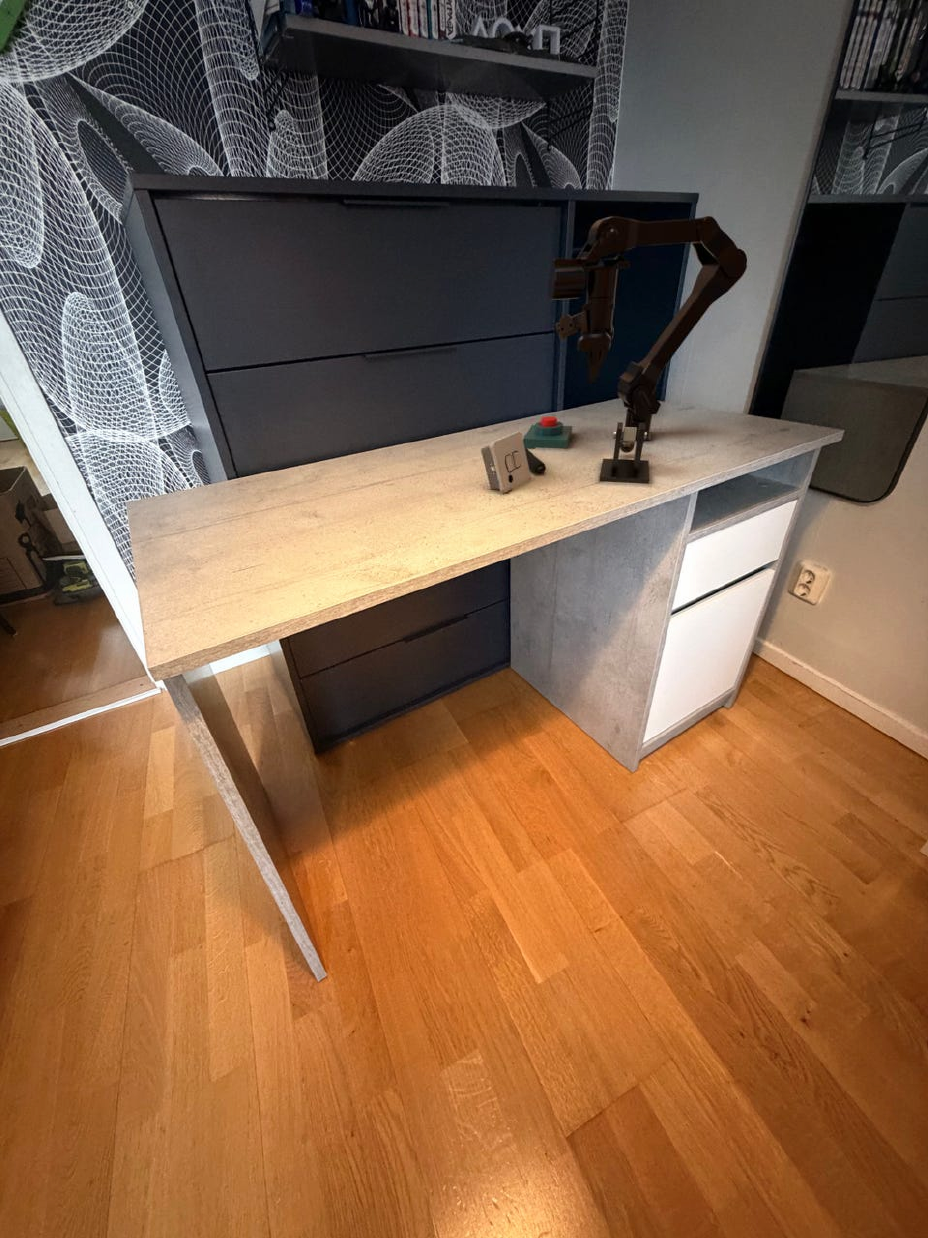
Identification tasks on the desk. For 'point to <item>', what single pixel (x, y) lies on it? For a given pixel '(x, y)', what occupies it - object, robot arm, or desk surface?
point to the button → (548, 421)
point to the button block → (547, 436)
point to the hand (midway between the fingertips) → (592, 381)
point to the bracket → (626, 462)
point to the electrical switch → (506, 462)
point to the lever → (628, 439)
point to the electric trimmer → (534, 462)
